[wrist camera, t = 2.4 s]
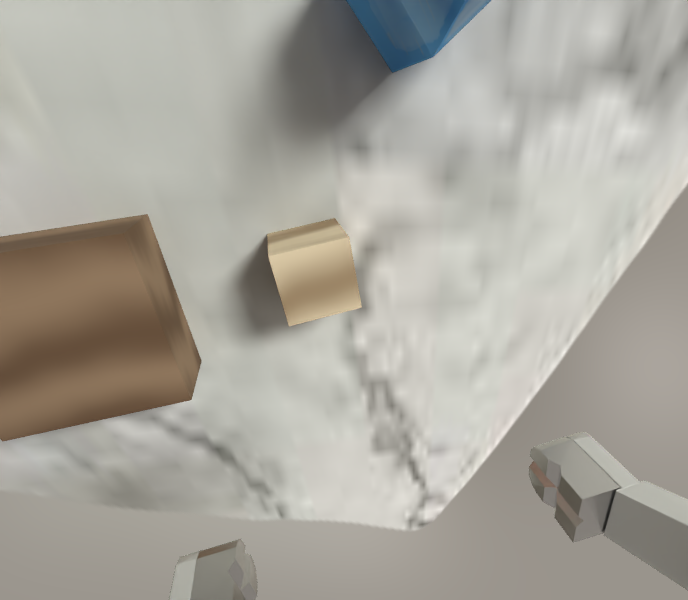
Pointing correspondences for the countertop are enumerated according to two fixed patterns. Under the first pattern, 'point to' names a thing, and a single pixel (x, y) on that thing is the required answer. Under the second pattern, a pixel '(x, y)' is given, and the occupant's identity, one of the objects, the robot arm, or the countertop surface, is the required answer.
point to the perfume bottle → (413, 26)
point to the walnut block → (89, 327)
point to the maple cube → (314, 271)
